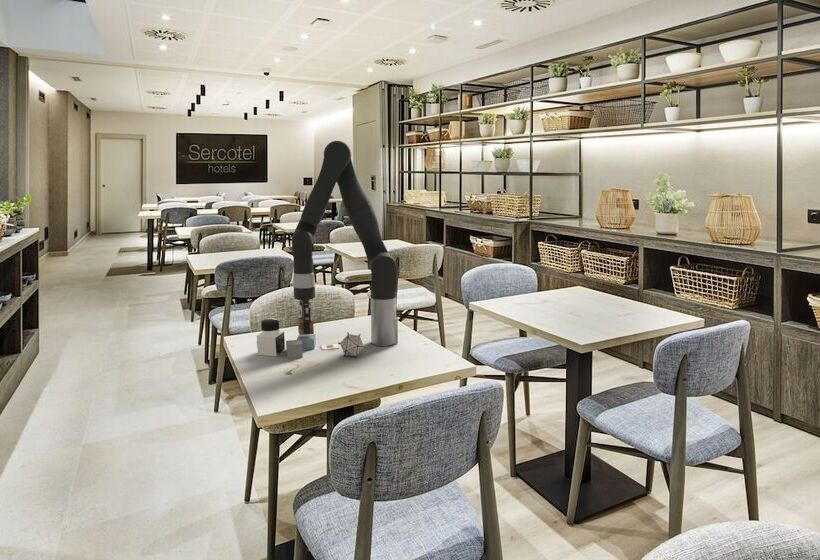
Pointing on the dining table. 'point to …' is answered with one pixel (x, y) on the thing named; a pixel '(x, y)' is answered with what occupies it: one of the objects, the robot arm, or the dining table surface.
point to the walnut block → (300, 326)
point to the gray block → (294, 349)
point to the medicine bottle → (270, 338)
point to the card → (329, 346)
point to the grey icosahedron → (352, 345)
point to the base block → (307, 341)
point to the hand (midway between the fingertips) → (306, 331)
